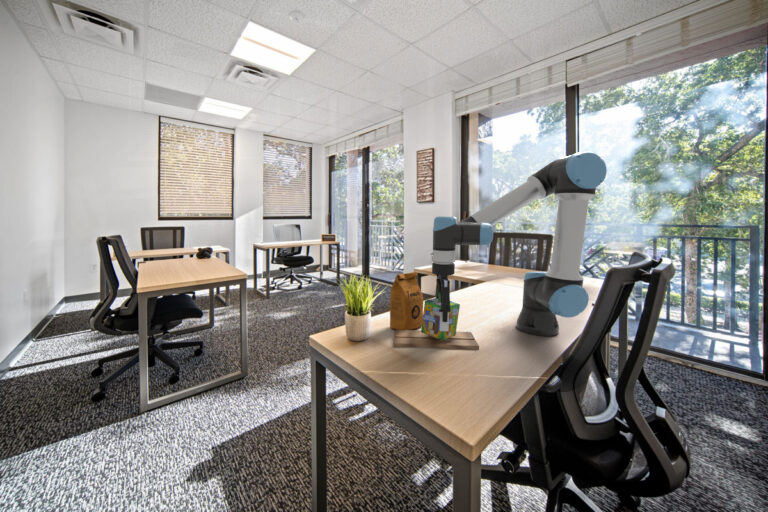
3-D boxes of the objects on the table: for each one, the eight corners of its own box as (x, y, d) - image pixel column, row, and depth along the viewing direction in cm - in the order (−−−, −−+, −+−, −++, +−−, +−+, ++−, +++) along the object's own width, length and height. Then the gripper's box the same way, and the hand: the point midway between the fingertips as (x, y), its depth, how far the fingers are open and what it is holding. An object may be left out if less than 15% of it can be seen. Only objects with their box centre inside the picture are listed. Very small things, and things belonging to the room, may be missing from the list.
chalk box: (442, 341, 104) (448, 298, 102) (419, 332, 110) (425, 290, 108) (456, 335, 111) (462, 294, 108) (434, 327, 117) (440, 288, 115)
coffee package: (427, 328, 124) (428, 272, 122) (403, 335, 117) (404, 276, 114) (409, 322, 132) (410, 269, 130) (386, 328, 124) (386, 272, 122)
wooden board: (470, 336, 117) (471, 332, 117) (479, 350, 105) (479, 346, 105) (394, 334, 118) (395, 330, 118) (394, 347, 106) (394, 343, 106)
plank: (470, 335, 117) (471, 332, 117) (474, 342, 111) (474, 338, 111) (394, 332, 118) (395, 329, 118) (394, 339, 112) (394, 336, 112)
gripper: (429, 257, 119) (427, 312, 122) (436, 268, 95) (434, 337, 98) (449, 257, 119) (447, 313, 122) (461, 268, 95) (458, 337, 97)
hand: (441, 324), depth 110 cm, fingers closed on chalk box, 12 cm apart
